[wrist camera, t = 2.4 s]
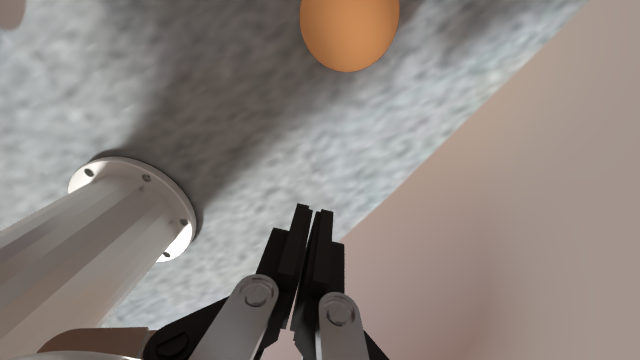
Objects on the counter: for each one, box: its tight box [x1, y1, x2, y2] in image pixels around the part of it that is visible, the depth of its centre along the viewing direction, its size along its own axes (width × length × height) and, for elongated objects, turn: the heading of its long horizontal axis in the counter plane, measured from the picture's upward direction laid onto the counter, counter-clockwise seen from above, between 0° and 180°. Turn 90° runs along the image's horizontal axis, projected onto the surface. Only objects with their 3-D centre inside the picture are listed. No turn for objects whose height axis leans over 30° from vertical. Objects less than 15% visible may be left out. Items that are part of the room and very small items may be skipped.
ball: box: [300, 0, 400, 72], centre depth 16 cm, size 6×6×6 cm
